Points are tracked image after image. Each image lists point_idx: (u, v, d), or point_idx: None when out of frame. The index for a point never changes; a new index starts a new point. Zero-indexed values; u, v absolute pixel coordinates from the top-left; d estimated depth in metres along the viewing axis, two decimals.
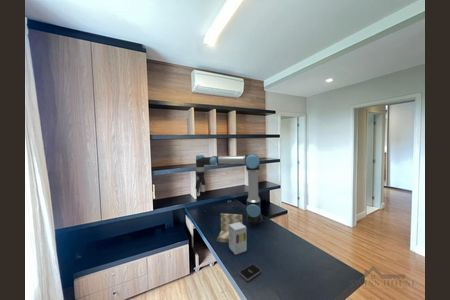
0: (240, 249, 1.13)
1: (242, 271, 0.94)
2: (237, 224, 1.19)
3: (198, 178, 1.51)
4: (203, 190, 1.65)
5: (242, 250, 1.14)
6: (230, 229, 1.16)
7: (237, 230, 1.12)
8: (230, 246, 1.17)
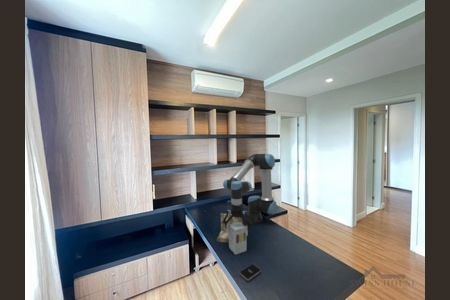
0: (240, 249, 1.13)
1: (242, 271, 0.94)
2: (237, 224, 1.19)
3: (227, 211, 1.17)
4: (246, 233, 1.15)
5: (242, 250, 1.14)
6: (230, 229, 1.16)
7: (237, 230, 1.12)
8: (230, 246, 1.17)
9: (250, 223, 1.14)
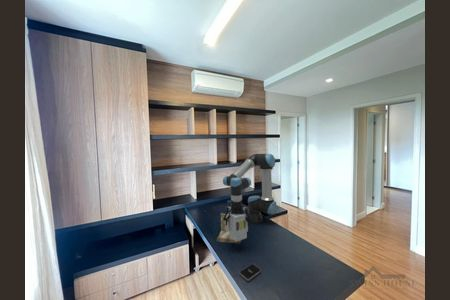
0: (240, 236, 1.13)
1: (242, 271, 0.94)
2: None
3: (227, 207, 1.17)
4: None
5: (242, 237, 1.14)
6: (230, 217, 1.16)
7: (237, 217, 1.12)
8: (230, 234, 1.17)
9: (250, 219, 1.14)
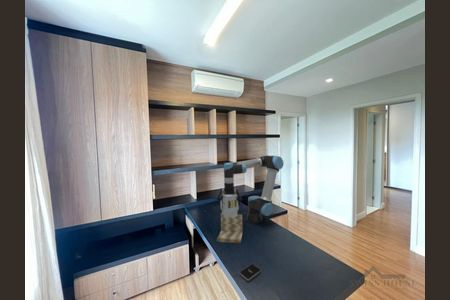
0: (232, 213, 1.29)
1: (242, 271, 0.94)
2: None
3: (220, 189, 1.33)
4: (237, 207, 1.31)
5: (233, 215, 1.30)
6: (223, 197, 1.32)
7: (229, 197, 1.28)
8: (223, 212, 1.33)
9: (240, 199, 1.30)
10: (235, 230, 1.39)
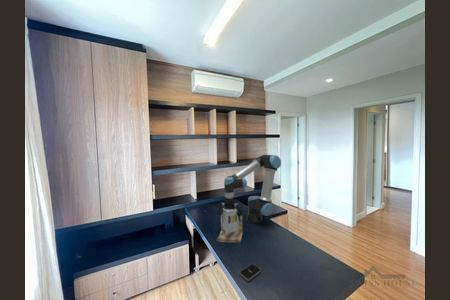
0: (232, 228, 1.29)
1: (242, 271, 0.94)
2: None
3: None
4: None
5: (233, 230, 1.30)
6: (223, 211, 1.33)
7: (229, 212, 1.28)
8: (223, 226, 1.33)
9: (241, 214, 1.30)
10: None
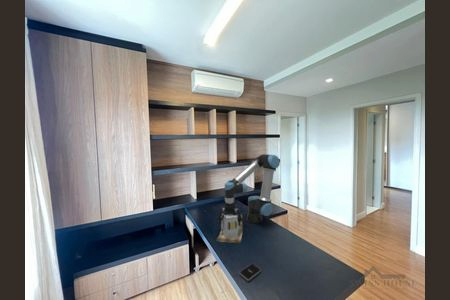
0: (232, 235, 1.29)
1: (242, 271, 0.94)
2: None
3: (221, 208, 1.35)
4: None
5: (233, 236, 1.30)
6: None
7: (229, 218, 1.28)
8: (224, 232, 1.34)
9: (241, 219, 1.31)
10: None
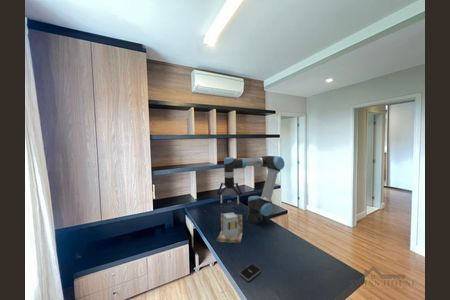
0: (232, 235, 1.29)
1: (242, 271, 0.94)
2: (230, 213, 1.35)
3: None
4: None
5: (233, 236, 1.30)
6: (224, 217, 1.33)
7: (229, 218, 1.28)
8: (224, 232, 1.34)
9: (241, 193, 1.31)
10: None
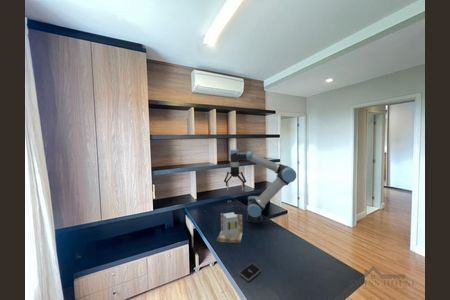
0: (232, 235, 1.29)
1: (242, 271, 0.94)
2: (230, 213, 1.35)
3: (227, 172, 1.51)
4: (242, 188, 1.49)
5: (233, 236, 1.30)
6: (224, 217, 1.33)
7: (229, 218, 1.28)
8: (224, 232, 1.34)
9: (245, 180, 1.48)
10: None
